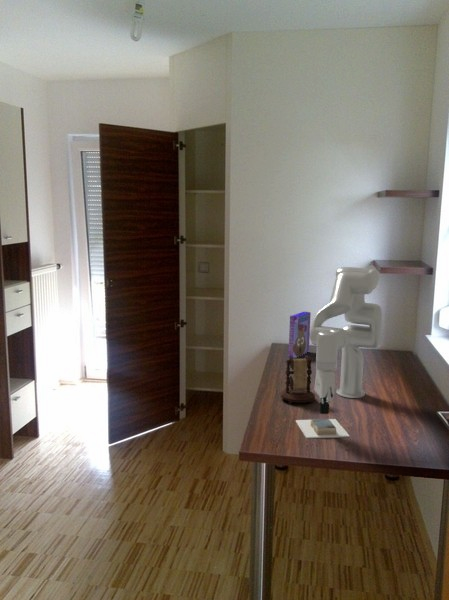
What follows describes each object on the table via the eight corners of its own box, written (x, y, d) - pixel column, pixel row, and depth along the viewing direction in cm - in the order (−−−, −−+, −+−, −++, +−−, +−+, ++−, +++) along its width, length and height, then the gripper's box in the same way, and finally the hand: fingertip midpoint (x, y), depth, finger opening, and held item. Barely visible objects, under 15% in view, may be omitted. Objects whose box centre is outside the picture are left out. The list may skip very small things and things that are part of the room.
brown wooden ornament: (285, 406, 221) (287, 360, 218) (276, 394, 235) (278, 351, 232) (319, 405, 223) (321, 359, 220) (308, 393, 238) (310, 350, 235)
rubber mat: (295, 421, 205) (295, 420, 205) (335, 420, 207) (335, 418, 207) (306, 438, 189) (306, 437, 189) (349, 437, 191) (349, 435, 191)
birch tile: (310, 418, 200) (317, 428, 191) (328, 418, 200) (336, 427, 192) (310, 425, 200) (317, 435, 191) (328, 424, 201) (336, 434, 192)
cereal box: (296, 358, 297) (297, 316, 293) (288, 357, 299) (290, 315, 296) (308, 352, 311) (310, 312, 307) (301, 350, 314) (303, 311, 310)
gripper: (310, 359, 199) (308, 406, 202) (322, 371, 184) (320, 421, 187) (329, 359, 200) (327, 405, 203) (343, 370, 185) (340, 420, 188)
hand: (323, 413), depth 195 cm, fingers closed
